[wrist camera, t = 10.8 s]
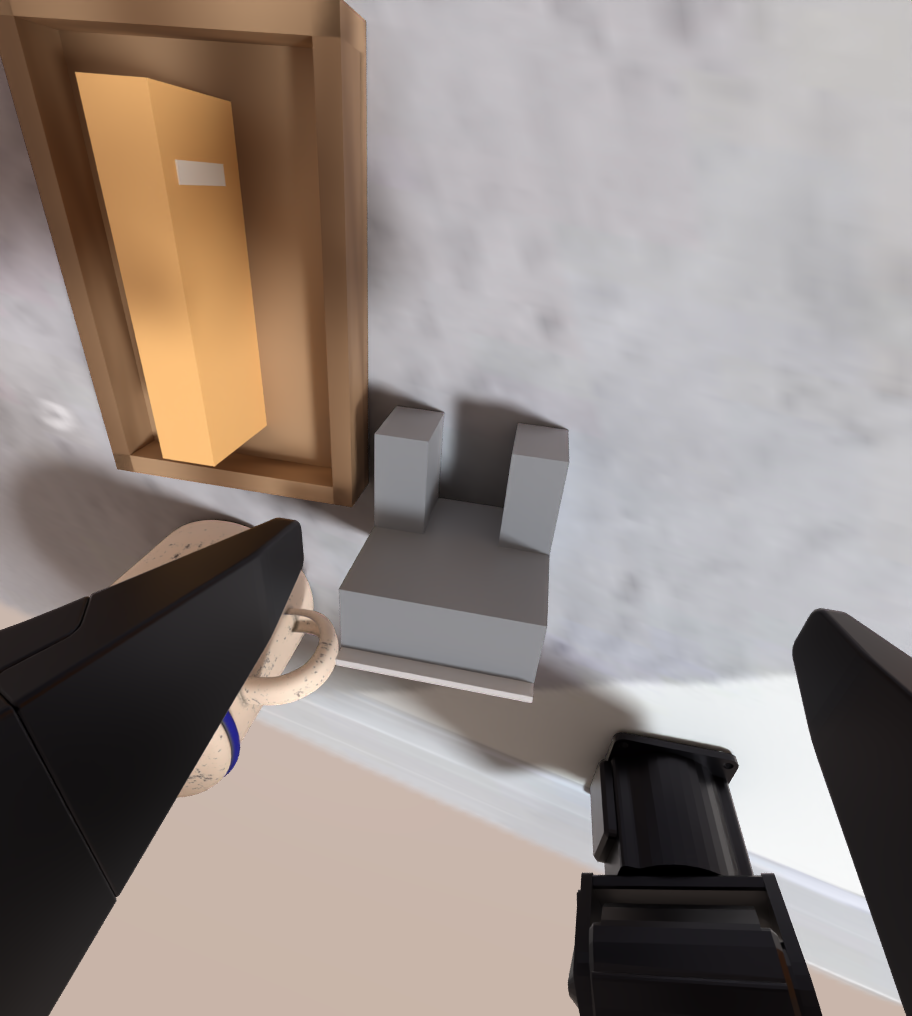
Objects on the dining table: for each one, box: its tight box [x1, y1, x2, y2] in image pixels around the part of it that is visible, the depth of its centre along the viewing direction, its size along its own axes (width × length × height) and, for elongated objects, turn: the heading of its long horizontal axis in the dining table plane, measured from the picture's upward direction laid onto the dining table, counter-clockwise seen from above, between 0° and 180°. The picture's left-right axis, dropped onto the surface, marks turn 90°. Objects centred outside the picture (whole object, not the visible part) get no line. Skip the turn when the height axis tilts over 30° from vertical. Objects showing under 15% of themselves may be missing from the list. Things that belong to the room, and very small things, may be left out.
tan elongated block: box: [75, 72, 267, 466], centre depth 18 cm, size 2×11×4 cm, turn 175°
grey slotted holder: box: [335, 406, 569, 703], centre depth 20 cm, size 7×7×8 cm
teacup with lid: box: [111, 520, 339, 797], centre depth 23 cm, size 12×9×12 cm
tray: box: [0, 0, 369, 507], centre depth 19 cm, size 11×16×2 cm
